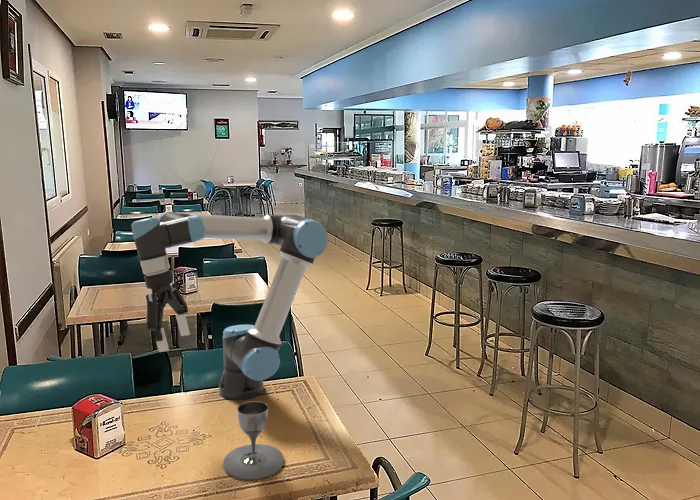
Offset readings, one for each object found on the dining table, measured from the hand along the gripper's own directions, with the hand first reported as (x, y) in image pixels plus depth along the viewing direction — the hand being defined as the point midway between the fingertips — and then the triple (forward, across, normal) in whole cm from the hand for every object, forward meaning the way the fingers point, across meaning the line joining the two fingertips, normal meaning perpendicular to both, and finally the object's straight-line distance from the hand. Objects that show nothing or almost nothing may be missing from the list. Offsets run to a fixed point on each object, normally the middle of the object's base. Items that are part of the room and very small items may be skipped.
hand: (175, 343), depth 168 cm
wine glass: (+32, +12, +21) cm, 40 cm away
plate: (+33, +12, +21) cm, 41 cm away
